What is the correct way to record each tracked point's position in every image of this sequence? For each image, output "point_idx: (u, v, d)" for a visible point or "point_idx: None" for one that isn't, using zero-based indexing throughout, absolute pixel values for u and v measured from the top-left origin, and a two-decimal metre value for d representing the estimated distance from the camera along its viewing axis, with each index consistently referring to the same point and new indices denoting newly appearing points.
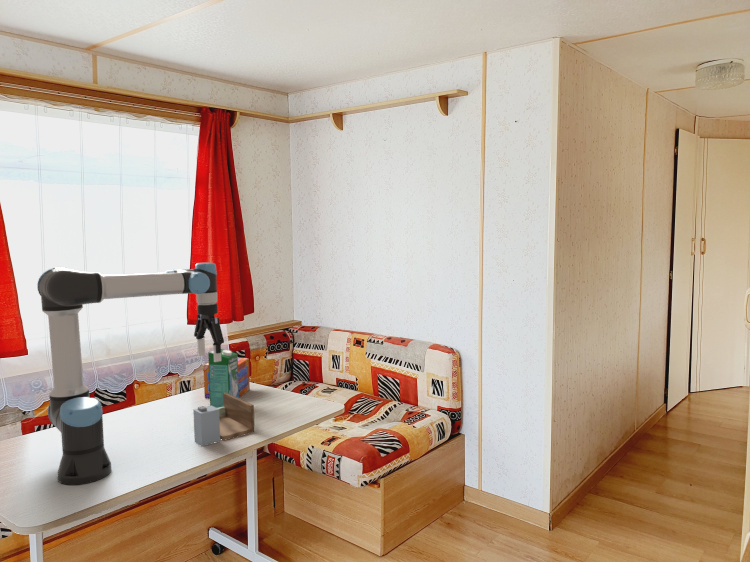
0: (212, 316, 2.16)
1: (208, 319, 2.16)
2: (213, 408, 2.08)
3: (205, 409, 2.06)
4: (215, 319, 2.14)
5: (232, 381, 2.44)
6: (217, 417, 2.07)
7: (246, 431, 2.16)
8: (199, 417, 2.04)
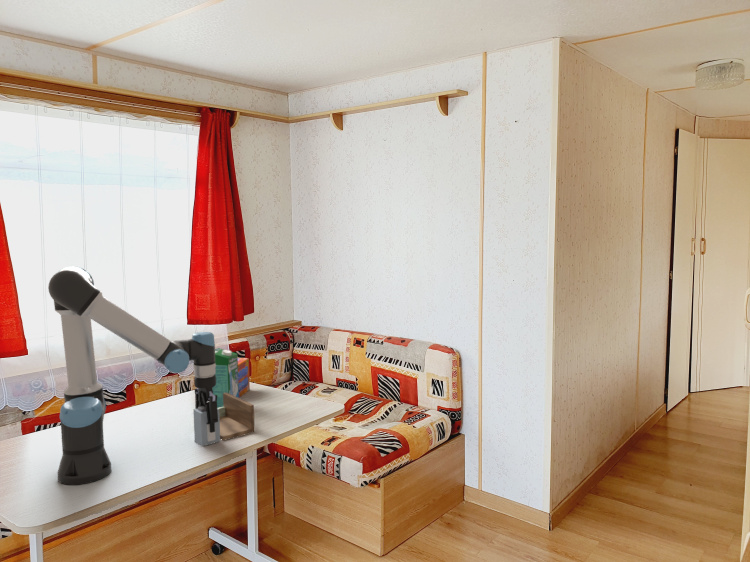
0: (210, 389, 2.04)
1: (206, 392, 2.04)
2: None
3: (205, 409, 2.06)
4: (213, 398, 2.02)
5: (232, 381, 2.44)
6: None
7: (246, 431, 2.16)
8: (199, 417, 2.04)
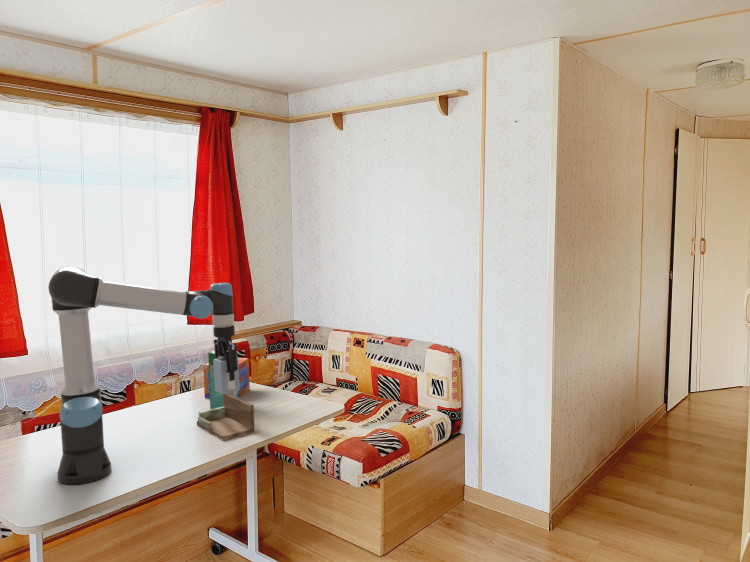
0: (229, 339, 2.08)
1: (225, 342, 2.08)
2: None
3: (224, 358, 2.10)
4: (232, 346, 2.06)
5: None
6: None
7: (246, 431, 2.16)
8: (219, 366, 2.08)
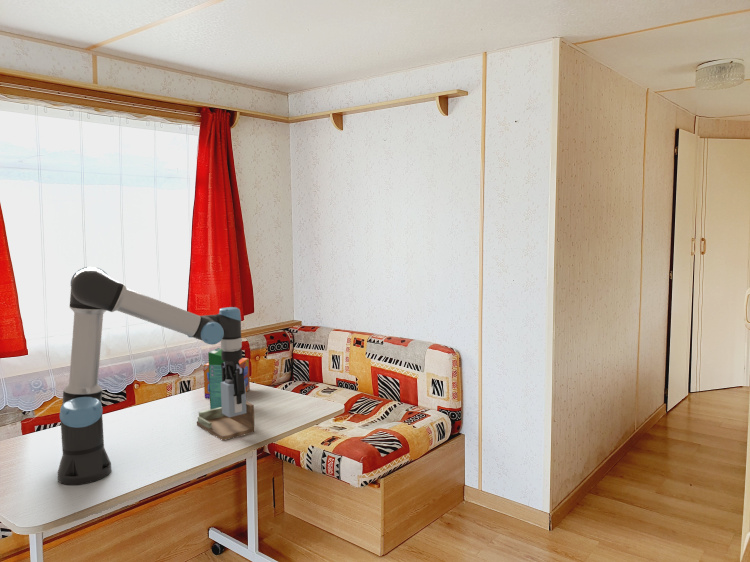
0: (237, 362, 2.11)
1: (233, 365, 2.11)
2: None
3: (232, 381, 2.13)
4: (240, 370, 2.09)
5: None
6: None
7: (246, 431, 2.16)
8: (226, 389, 2.11)
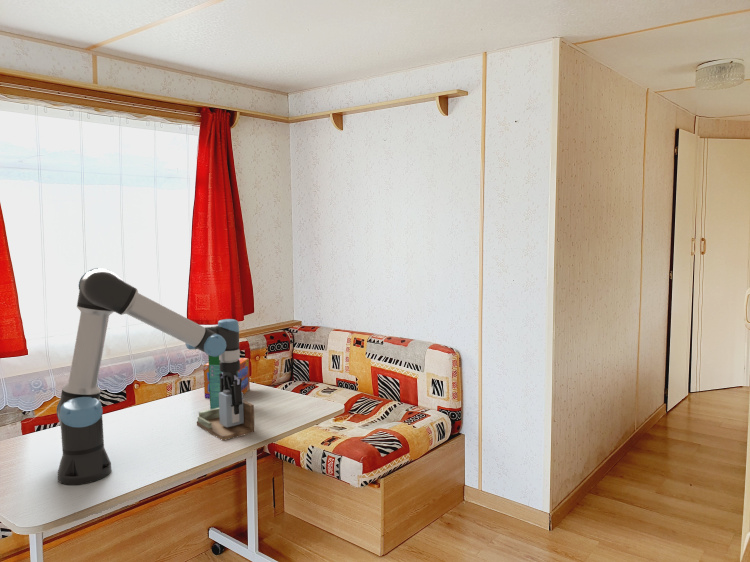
0: (234, 374, 2.15)
1: (230, 376, 2.15)
2: None
3: (230, 392, 2.17)
4: (237, 381, 2.13)
5: None
6: None
7: (246, 431, 2.16)
8: (224, 399, 2.15)
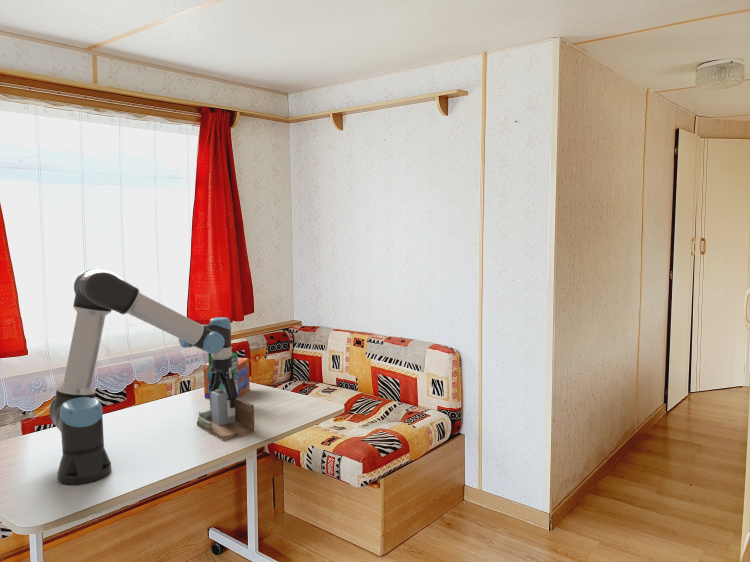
0: (226, 370, 2.20)
1: (222, 373, 2.20)
2: None
3: (222, 391, 2.22)
4: (229, 374, 2.18)
5: None
6: None
7: (246, 431, 2.16)
8: (216, 398, 2.20)
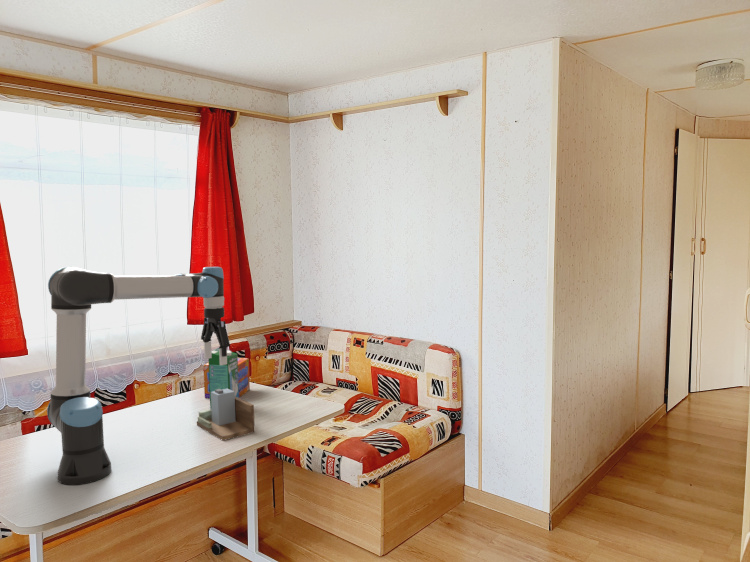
0: (218, 320, 2.19)
1: (214, 323, 2.19)
2: (229, 390, 2.25)
3: (222, 391, 2.22)
4: (221, 323, 2.16)
5: (232, 381, 2.44)
6: (233, 399, 2.24)
7: (246, 431, 2.16)
8: (216, 398, 2.20)
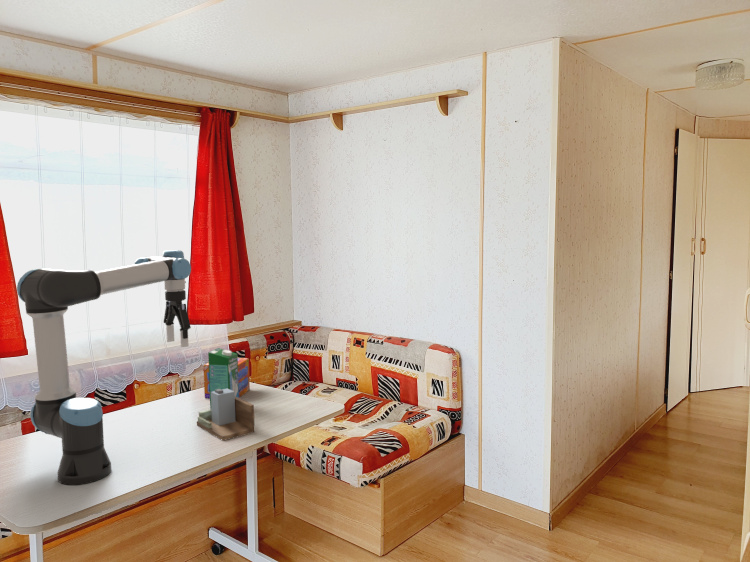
0: (179, 302, 2.21)
1: (176, 305, 2.21)
2: (229, 390, 2.25)
3: (222, 391, 2.22)
4: (182, 305, 2.19)
5: (232, 381, 2.44)
6: (233, 399, 2.24)
7: (246, 431, 2.16)
8: (216, 398, 2.20)
